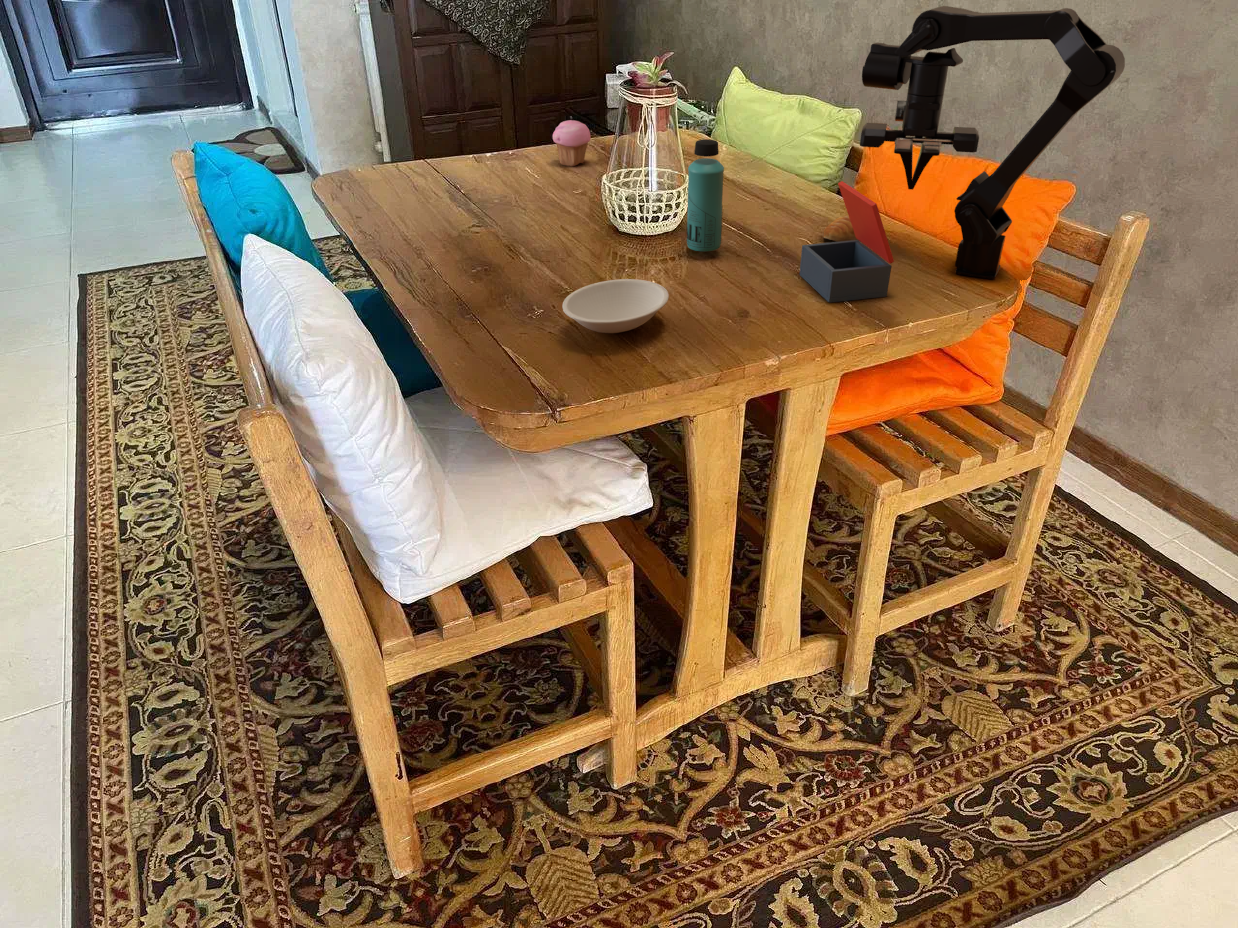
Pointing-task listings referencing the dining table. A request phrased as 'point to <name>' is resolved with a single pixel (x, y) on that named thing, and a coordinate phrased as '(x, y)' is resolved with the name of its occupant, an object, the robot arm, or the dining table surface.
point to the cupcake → (571, 142)
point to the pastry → (840, 230)
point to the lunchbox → (844, 271)
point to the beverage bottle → (705, 198)
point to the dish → (615, 304)
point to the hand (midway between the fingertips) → (910, 189)
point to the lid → (866, 221)
